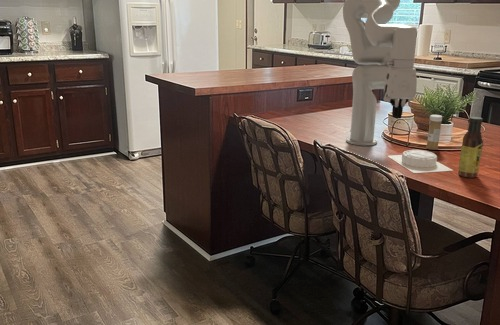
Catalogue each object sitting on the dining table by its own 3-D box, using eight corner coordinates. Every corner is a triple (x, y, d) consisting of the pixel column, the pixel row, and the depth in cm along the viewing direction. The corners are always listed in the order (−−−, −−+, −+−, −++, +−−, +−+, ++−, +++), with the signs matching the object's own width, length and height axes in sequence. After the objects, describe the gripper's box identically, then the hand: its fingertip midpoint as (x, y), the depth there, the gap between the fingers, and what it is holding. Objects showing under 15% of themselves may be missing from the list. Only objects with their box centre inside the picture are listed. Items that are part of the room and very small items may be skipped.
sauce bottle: (478, 179, 161) (487, 120, 155) (457, 177, 163) (466, 119, 157) (477, 173, 167) (486, 116, 160) (457, 171, 169) (465, 115, 163)
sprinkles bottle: (424, 147, 197) (428, 114, 193) (434, 146, 197) (439, 114, 193) (429, 150, 193) (433, 116, 188) (440, 150, 193) (444, 116, 189)
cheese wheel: (441, 162, 178) (442, 153, 177) (428, 170, 169) (429, 160, 168) (410, 155, 185) (411, 146, 184) (395, 163, 177) (396, 153, 176)
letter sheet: (386, 155, 185) (386, 155, 185) (422, 153, 188) (422, 153, 188) (413, 173, 166) (413, 173, 166) (453, 170, 169) (453, 170, 169)
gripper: (386, 66, 159) (381, 121, 165) (428, 65, 162) (422, 119, 168) (376, 63, 166) (372, 116, 172) (416, 62, 169) (410, 114, 175)
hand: (396, 117), depth 170 cm, fingers closed
